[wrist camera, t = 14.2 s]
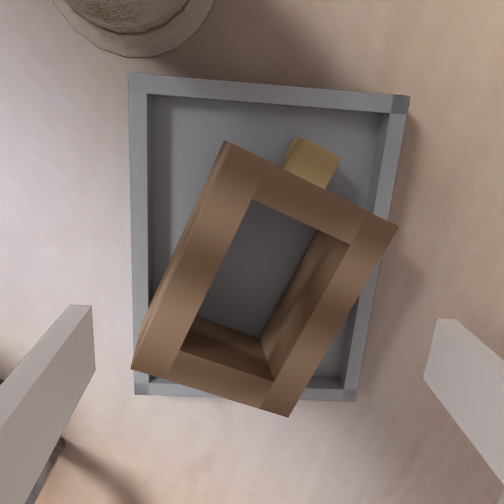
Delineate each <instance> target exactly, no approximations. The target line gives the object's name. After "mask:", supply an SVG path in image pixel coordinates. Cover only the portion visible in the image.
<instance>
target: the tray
mask: <svg viewBox="0 0 504 504" xmlns="http://www.w3.org/2000/svg"><path fill="white" fill-rule="evenodd" d="M128 100H129V148H130V197H131V246H132V294H133V343H134V352H135V348H136V344H137V339H138V335H139V331H140V327H141V324H142V322H143V319H144V317H145V315H146V313H147V311H148V308H149V306H150V304H151V302H152V299H153V297H154V295H155V293H156V290H157V288H158V286H159V284H160V282H161V279H162V277H163V275H164V273H165V270H166V268H167V266H168V264H169V262H170V259H171V257H172V255H173V253H174V250H175V248H176V246H177V244H178V242H179V239H180V237H181V235H182V233H183V230H184V228H185V226H186V224H187V222H188V219H189V217H190V215H191V213H192V210H193V208H194V206H195V204H196V202H197V199H198V197H199V195H200V193H201V190H202V188H203V186H204V184H205V182H206V179H207V177H208V175H209V173H210V170H211V168H212V166H213V164H214V161H215V159H216V157H217V155H218V153H219V150H220V148H221V146H222V144H223V141H224V140H225V141H228V142H230V143H233V144H235V145H237V146H239V147H241V148H243V149H245V150H247V151H249V152H251V153H253V154H255V155H257V156H259V157H261V158H263V159H265V160H267V161H269V162H271V163H273V164H275V165H277V166H279V167H280V166H281V164H282V162H283V160H284V158H285V156H286V154H287V151H288V149H289V147H290V145H291V143H292V141H293V139H294V138H302V139H306V140H308V141H310V142H312V143H314V144H316V145H318V146H320V147H321V148H323V149H325V150H327V151H329V152H331V153H333V154H335V155H336V156H338V157H340V158H341V159H340V161H339V163H338V165H337V167H336V169H335V171H334V173H333V175H332V177H331V178H330V180H329V182H328V184H327V186H326V188H325V190H327V191H329V192H331V193H333V194H335V195H337V196H339V197H341V198H343V199H345V200H347V201H349V202H351V203H353V204H355V205H357V206H359V207H361V208H363V209H365V210H367V211H369V212H371V213H372V214H374V215H376V216H378V217H380V218H382V219H384V220H386V221H388V217H389V211H390V206H391V200H392V195H393V189H394V183H395V178H396V172H397V167H398V161H399V156H400V150H401V145H402V139H403V133H404V128H405V122H406V117H407V111H408V106H409V100H410V96H404V95H392V94H380V93H368V92H356V91H344V90H332V89H320V88H308V87H296V86H284V85H272V84H260V83H248V82H236V81H224V80H212V79H200V78H188V77H176V76H164V75H152V74H140V73H128ZM316 232H317V229H315V228H313V227H311V226H309V225H307V224H305V223H302V222H300V221H298V220H296V219H294V218H292V217H290V216H287V215H285V214H283V213H281V212H279V211H277V210H275V209H272V208H270V207H268V206H266V205H264V204H262V203H260V202H257V201H255V200H253V199H252V200H251V202H250V204H249V207H248V209H247V211H246V213H245V215H244V217H243V219H242V221H241V223H240V225H239V227H238V229H237V231H236V233H235V236H234V238H233V240H232V242H231V244H230V246H229V248H228V250H227V252H226V254H225V256H224V258H223V260H222V263H221V265H220V267H219V269H218V271H217V273H216V275H215V277H214V279H213V281H212V283H211V285H210V287H209V289H208V292H207V294H206V296H205V298H204V300H203V302H202V304H201V306H200V308H199V310H198V312H197V314H196V316H199V317H201V318H204V319H207V320H210V321H213V322H215V323H218V324H221V325H224V326H226V327H229V328H232V329H235V330H237V331H240V332H243V333H246V334H249V335H251V336H254V337H257V338H260V337H261V335H262V334H263V332H264V330H265V328H266V326H267V324H268V322H269V320H270V319H271V317H272V315H273V313H274V311H275V309H276V307H277V305H278V303H279V302H280V300H281V298H282V296H283V294H284V292H285V290H286V288H287V286H288V285H289V283H290V281H291V279H292V277H293V275H294V273H295V271H296V270H297V268H298V266H299V264H300V262H301V260H302V258H303V256H304V254H305V253H306V251H307V249H308V247H309V245H310V243H311V241H312V239H313V238H314V236H315V234H316ZM380 261H381V258H380V260H379V262H378V263H377V265H376V267H375V268H374V270H373V272H372V274H371V275H370V277H369V279H368V281H367V282H366V284H365V286H364V287H363V289H362V291H361V293H360V294H359V296H358V298H357V300H356V301H355V303H354V305H353V306H352V308H351V310H350V312H349V313H348V315H347V317H346V319H345V320H344V322H343V324H342V325H341V327H340V329H339V331H338V332H337V334H336V336H335V338H334V339H333V341H332V343H331V344H330V346H329V348H328V350H327V351H326V353H325V355H324V357H323V358H322V360H321V362H320V363H319V365H318V367H317V369H316V370H315V372H314V374H313V375H312V377H311V379H310V381H309V382H308V384H307V386H306V388H305V389H304V391H303V393H302V394H301V396H300V398H299V400H326V401H355V400H356V395H357V389H358V384H359V378H360V373H361V367H362V362H363V356H364V350H365V345H366V339H367V334H368V328H369V323H370V317H371V311H372V306H373V300H374V295H375V289H376V284H377V278H378V272H379V267H380ZM134 391H135V395H164V396H197V397H220V396H217V395H213V394H210V393H207V392H204V391H200V390H197V389H194V388H191V387H187V386H184V385H181V384H178V383H174V382H171V381H168V380H165V379H161V378H158V377H155V376H152V375H148V374H145V373H142V372H139V371H135V370H134Z"/></svg>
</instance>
